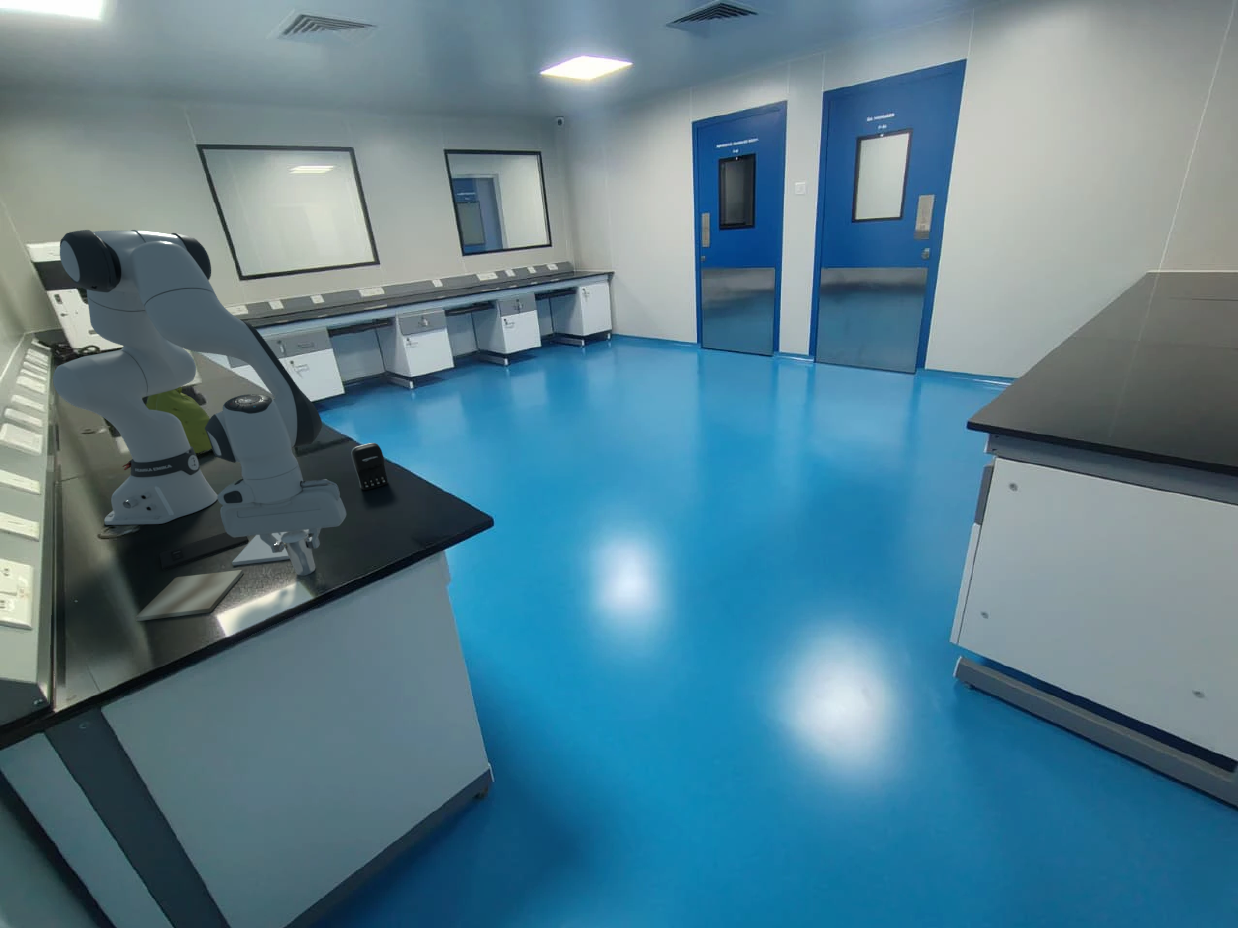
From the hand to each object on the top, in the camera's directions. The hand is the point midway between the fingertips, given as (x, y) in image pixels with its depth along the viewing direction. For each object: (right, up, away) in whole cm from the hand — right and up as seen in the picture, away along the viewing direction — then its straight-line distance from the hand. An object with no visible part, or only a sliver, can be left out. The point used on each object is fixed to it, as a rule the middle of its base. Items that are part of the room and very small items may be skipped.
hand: (296, 548), depth 105 cm
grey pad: (-11, -1, +11) cm, 16 cm away
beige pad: (-17, -8, -4) cm, 19 cm away
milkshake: (0, -5, +2) cm, 5 cm away
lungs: (-75, +21, +70) cm, 104 cm away
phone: (-27, -2, +12) cm, 29 cm away
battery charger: (-1, +10, +37) cm, 39 cm away
